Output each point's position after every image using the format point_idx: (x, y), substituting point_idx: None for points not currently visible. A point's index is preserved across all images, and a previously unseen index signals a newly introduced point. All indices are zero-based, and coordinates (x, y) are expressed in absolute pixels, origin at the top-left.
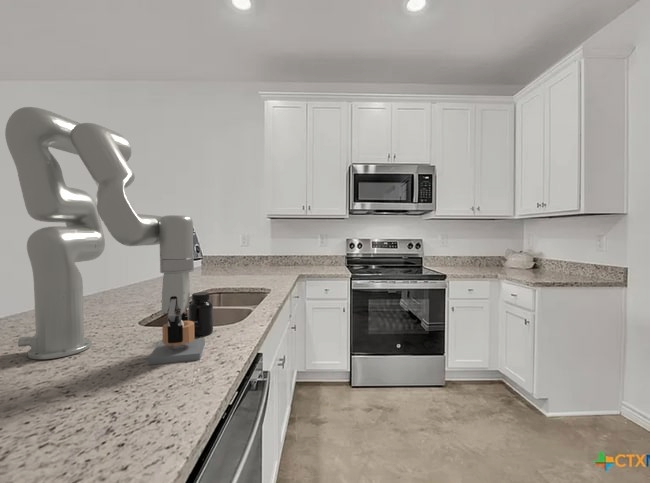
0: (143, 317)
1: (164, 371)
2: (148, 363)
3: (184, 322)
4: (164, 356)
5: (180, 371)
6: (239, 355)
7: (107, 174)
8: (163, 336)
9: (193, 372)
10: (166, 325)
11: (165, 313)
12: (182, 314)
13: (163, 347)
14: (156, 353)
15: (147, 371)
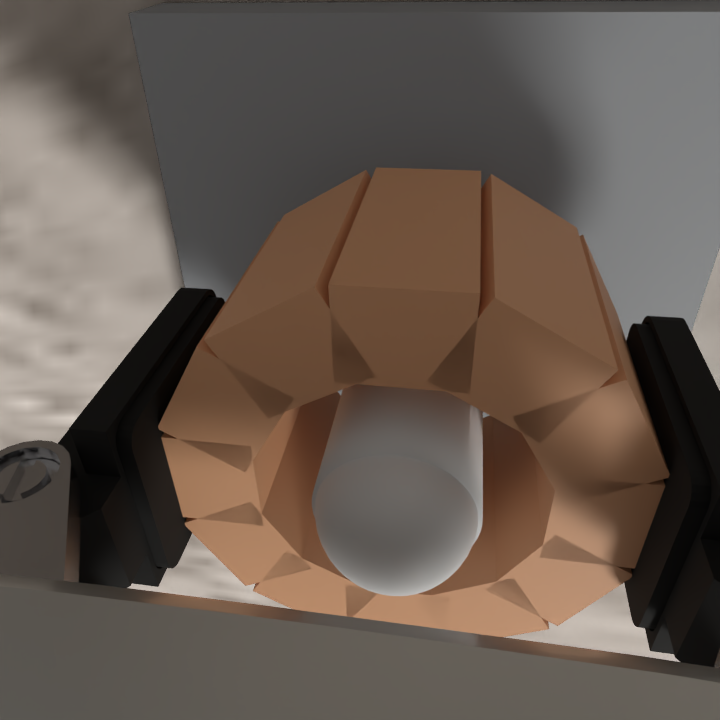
0: None
1: (19, 203)
2: (156, 5)
3: (517, 560)
4: (169, 195)
5: (29, 317)
6: (276, 604)
7: None
8: (314, 229)
9: (21, 392)
10: (393, 344)
11: (113, 587)
12: (704, 650)
13: (490, 124)
14: (279, 80)
15: (5, 43)
